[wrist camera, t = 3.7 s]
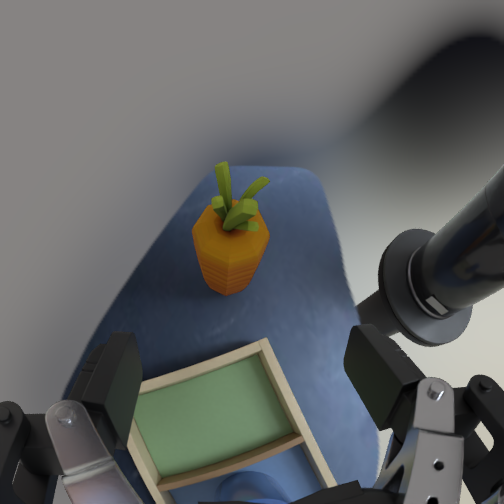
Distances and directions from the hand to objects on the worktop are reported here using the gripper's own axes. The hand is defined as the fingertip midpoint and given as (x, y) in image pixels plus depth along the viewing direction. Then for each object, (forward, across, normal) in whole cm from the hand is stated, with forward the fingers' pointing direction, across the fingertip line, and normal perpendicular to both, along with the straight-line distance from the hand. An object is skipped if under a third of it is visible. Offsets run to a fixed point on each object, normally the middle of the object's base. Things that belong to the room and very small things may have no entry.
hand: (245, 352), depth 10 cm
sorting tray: (+5, +1, +17) cm, 17 cm away
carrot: (+17, 0, +5) cm, 18 cm away
